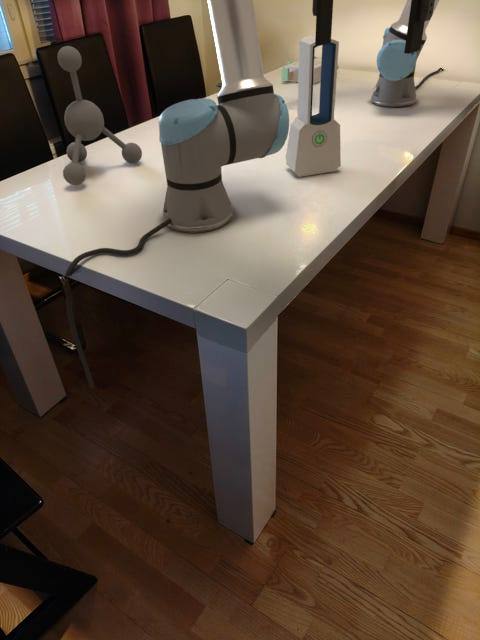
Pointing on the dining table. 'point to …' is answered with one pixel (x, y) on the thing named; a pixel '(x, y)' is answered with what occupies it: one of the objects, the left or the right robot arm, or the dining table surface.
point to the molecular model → (85, 123)
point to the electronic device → (315, 130)
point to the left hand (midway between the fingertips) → (364, 47)
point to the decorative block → (292, 71)
